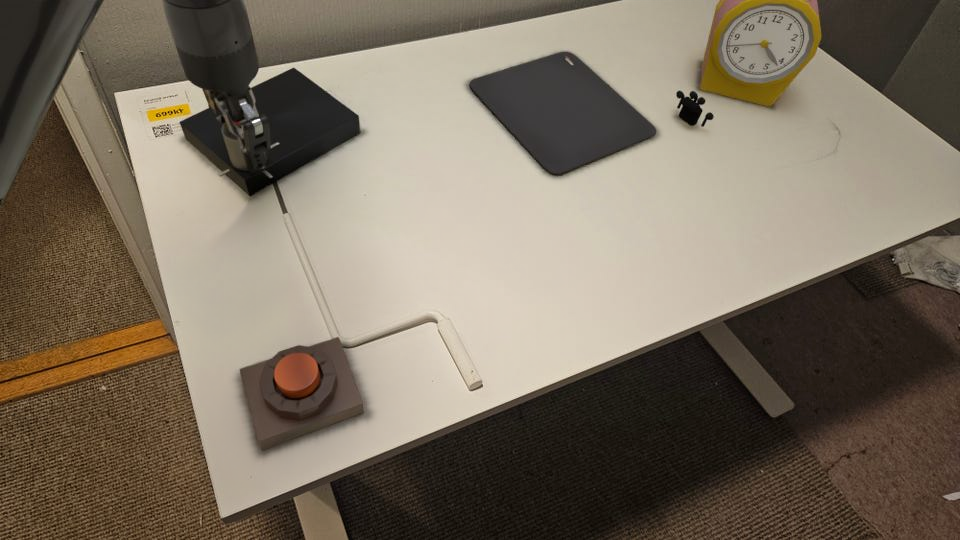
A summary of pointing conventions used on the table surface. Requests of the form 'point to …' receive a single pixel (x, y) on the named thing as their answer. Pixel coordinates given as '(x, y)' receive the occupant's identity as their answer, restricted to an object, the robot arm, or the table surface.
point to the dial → (235, 148)
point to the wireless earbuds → (692, 108)
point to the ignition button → (297, 375)
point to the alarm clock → (759, 47)
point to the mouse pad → (562, 111)
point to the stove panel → (279, 129)
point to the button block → (300, 416)
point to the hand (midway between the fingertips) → (247, 156)
